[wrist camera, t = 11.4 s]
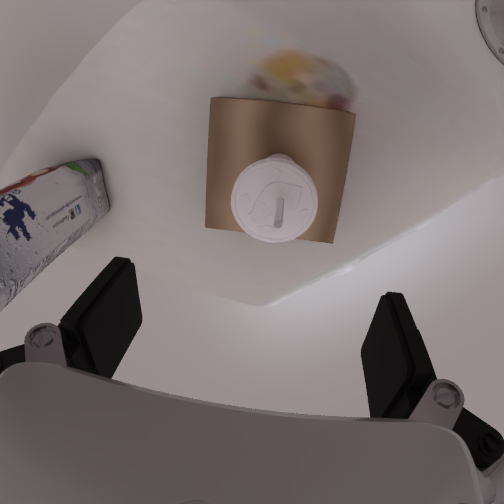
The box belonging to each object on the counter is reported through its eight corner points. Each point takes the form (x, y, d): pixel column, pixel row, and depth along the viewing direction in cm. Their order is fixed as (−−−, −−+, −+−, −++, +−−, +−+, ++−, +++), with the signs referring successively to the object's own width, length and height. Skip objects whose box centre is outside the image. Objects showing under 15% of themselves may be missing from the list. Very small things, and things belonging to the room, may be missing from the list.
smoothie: (323, 181, 31) (343, 244, 19) (270, 212, 33) (257, 290, 21) (287, 127, 29) (285, 154, 17) (234, 163, 31) (195, 214, 19)
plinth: (348, 111, 31) (355, 114, 28) (329, 228, 38) (332, 243, 34) (219, 97, 32) (210, 97, 28) (213, 213, 39) (205, 227, 35)
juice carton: (119, 214, 40) (-21, 353, 17) (63, 220, 42) (-66, 333, 18) (105, 150, 36) (-73, 251, 12) (48, 163, 38) (-104, 254, 14)
